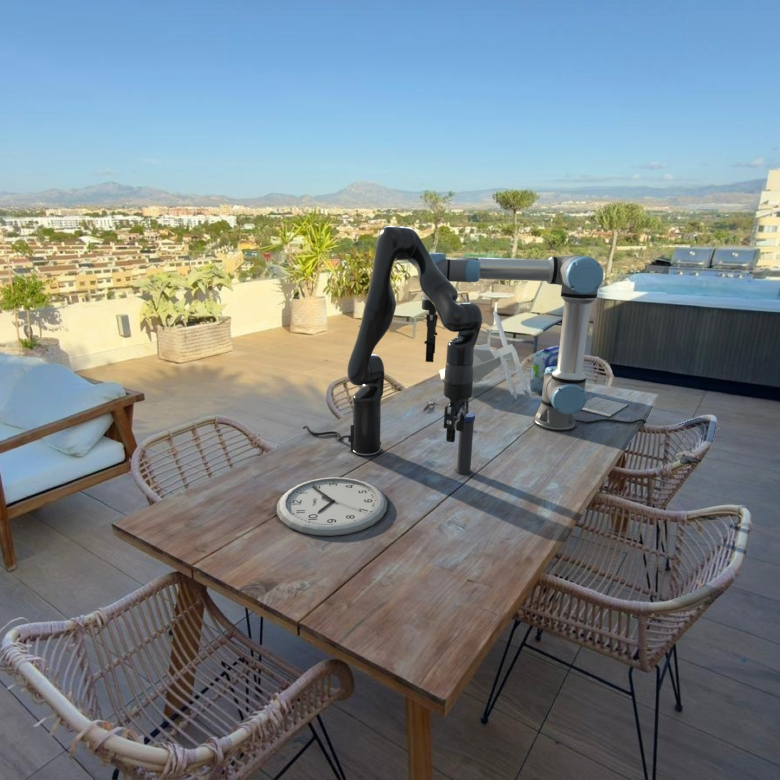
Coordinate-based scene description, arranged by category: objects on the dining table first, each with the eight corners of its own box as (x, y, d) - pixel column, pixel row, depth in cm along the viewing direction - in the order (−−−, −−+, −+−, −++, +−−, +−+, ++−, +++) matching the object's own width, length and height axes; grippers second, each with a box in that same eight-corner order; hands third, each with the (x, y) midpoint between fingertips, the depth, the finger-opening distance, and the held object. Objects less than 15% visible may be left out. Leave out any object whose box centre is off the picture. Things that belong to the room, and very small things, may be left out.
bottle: (454, 471, 164) (457, 415, 158) (461, 467, 167) (465, 412, 161) (465, 475, 161) (469, 419, 156) (472, 471, 164) (476, 415, 159)
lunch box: (546, 399, 235) (551, 353, 228) (525, 393, 242) (530, 349, 236) (574, 387, 252) (579, 345, 246) (553, 383, 260) (558, 341, 253)
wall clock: (392, 527, 129) (268, 531, 127) (391, 533, 130) (269, 537, 127) (383, 473, 158) (282, 475, 155) (383, 478, 158) (282, 480, 156)
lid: (455, 419, 159) (456, 414, 158) (464, 415, 162) (465, 410, 162) (469, 423, 156) (469, 418, 155) (477, 419, 159) (478, 414, 159)
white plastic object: (461, 429, 252) (437, 405, 227) (444, 352, 274) (420, 323, 250) (535, 404, 240) (518, 377, 215) (510, 326, 262) (492, 293, 237)
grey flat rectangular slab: (608, 416, 214) (573, 407, 224) (608, 416, 214) (573, 408, 224) (628, 404, 229) (594, 396, 238) (628, 405, 229) (594, 397, 238)
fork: (420, 411, 216) (420, 406, 216) (430, 400, 230) (431, 395, 230) (426, 412, 215) (426, 407, 215) (436, 401, 230) (436, 396, 229)
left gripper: (453, 371, 146) (450, 425, 151) (436, 384, 133) (433, 442, 138) (479, 374, 143) (475, 429, 148) (464, 388, 130) (460, 447, 135)
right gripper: (424, 293, 195) (422, 349, 202) (419, 302, 172) (417, 365, 178) (444, 294, 195) (441, 350, 201) (442, 303, 171) (439, 366, 177)
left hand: (455, 436), depth 143 cm, fingers open, 8 cm apart
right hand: (430, 357), depth 190 cm, fingers open, 13 cm apart
